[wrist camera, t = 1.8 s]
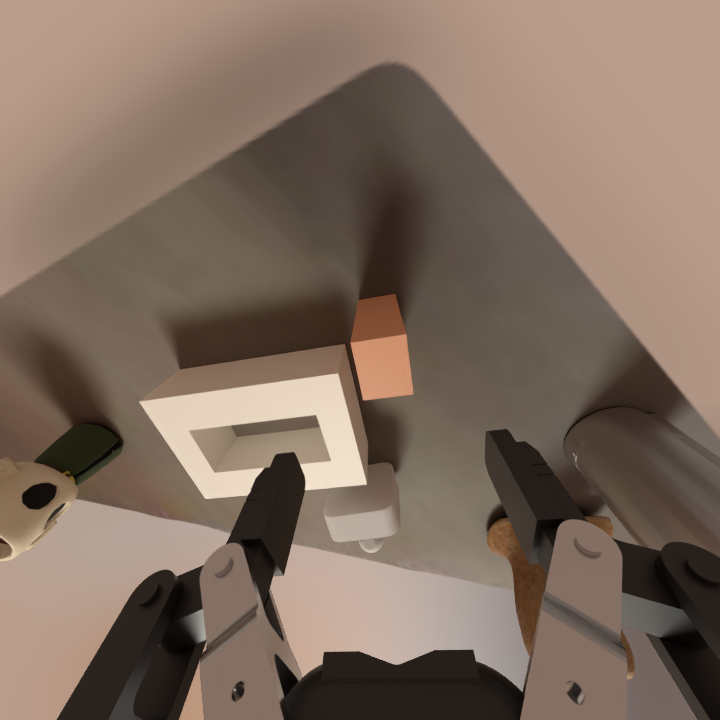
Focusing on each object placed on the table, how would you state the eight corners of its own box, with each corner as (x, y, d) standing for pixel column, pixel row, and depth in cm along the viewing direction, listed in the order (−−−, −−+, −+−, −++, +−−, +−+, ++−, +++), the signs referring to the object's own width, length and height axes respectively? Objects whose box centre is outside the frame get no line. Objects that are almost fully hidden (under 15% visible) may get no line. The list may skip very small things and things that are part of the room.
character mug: (139, 468, 39) (40, 575, 27) (89, 464, 39) (-31, 568, 27) (113, 407, 34) (-23, 506, 22) (56, 402, 34) (-110, 498, 22)
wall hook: (355, 520, 41) (345, 591, 31) (337, 461, 39) (319, 518, 29) (408, 514, 40) (414, 585, 30) (392, 452, 38) (393, 508, 28)
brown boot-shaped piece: (479, 551, 45) (523, 693, 31) (488, 505, 39) (547, 653, 26) (577, 551, 43) (666, 699, 30) (601, 503, 38) (724, 658, 25)
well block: (344, 343, 28) (338, 373, 23) (368, 443, 34) (367, 484, 29) (179, 369, 31) (138, 401, 25) (229, 458, 37) (205, 498, 32)
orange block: (395, 293, 26) (406, 334, 17) (400, 337, 28) (413, 394, 19) (358, 300, 26) (350, 342, 17) (366, 342, 28) (363, 400, 19)
